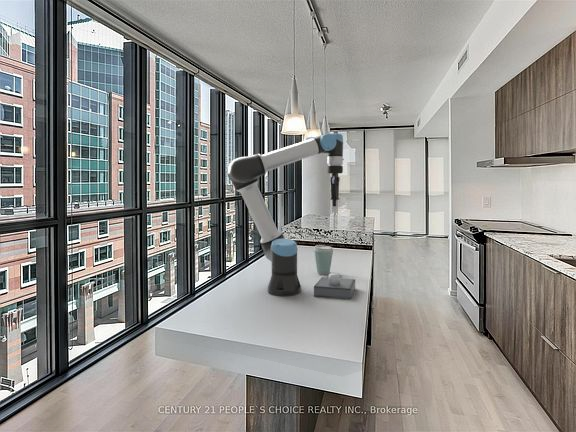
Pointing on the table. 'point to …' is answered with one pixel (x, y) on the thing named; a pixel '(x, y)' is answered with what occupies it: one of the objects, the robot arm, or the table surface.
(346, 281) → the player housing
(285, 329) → the table surface
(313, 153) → the robot arm
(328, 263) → the disposable coffee cup
